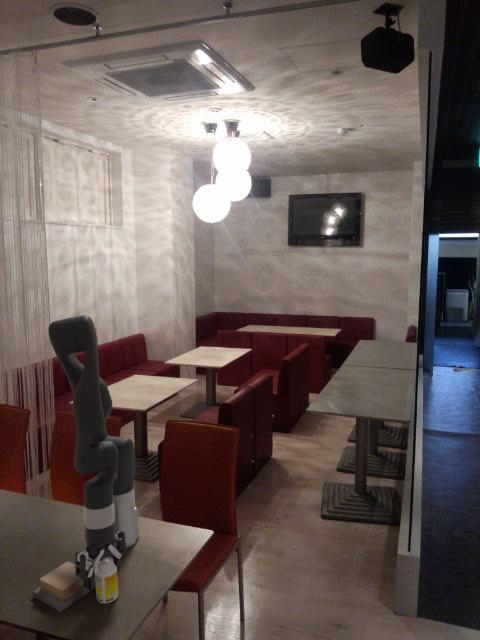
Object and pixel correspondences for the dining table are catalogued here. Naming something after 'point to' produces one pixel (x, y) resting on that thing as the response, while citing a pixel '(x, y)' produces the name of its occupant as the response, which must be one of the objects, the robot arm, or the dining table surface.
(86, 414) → the robot arm
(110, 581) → the supplement bottle
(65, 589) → the pedestal
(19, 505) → the dining table surface
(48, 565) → the dining table surface
